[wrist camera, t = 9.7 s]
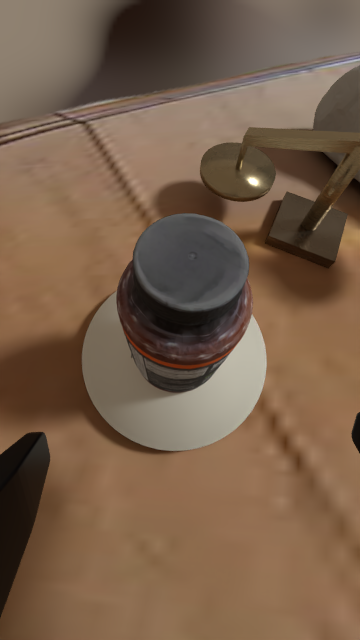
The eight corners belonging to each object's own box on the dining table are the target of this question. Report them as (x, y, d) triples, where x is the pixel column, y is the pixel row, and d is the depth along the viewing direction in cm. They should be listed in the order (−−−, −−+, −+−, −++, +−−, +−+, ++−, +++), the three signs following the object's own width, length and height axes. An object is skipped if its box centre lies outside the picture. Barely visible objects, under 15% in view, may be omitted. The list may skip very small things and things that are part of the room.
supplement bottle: (153, 302, 21) (147, 170, 11) (228, 330, 21) (296, 218, 10) (119, 375, 19) (68, 296, 8) (202, 409, 18) (256, 368, 8)
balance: (418, 305, 24) (605, 206, 14) (185, 213, 26) (200, 72, 16) (423, 250, 26) (585, 132, 16) (210, 171, 29) (236, 26, 19)
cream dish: (226, 487, 17) (229, 490, 17) (48, 397, 19) (42, 395, 18) (282, 317, 23) (287, 311, 22) (138, 256, 24) (137, 248, 23)
